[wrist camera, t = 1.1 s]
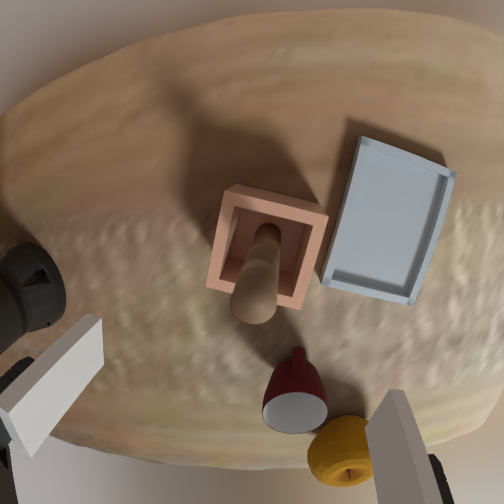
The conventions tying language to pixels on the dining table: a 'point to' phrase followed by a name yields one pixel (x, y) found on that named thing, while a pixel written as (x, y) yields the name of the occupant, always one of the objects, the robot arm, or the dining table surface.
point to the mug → (295, 396)
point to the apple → (341, 453)
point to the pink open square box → (243, 231)
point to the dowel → (258, 278)
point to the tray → (387, 223)
